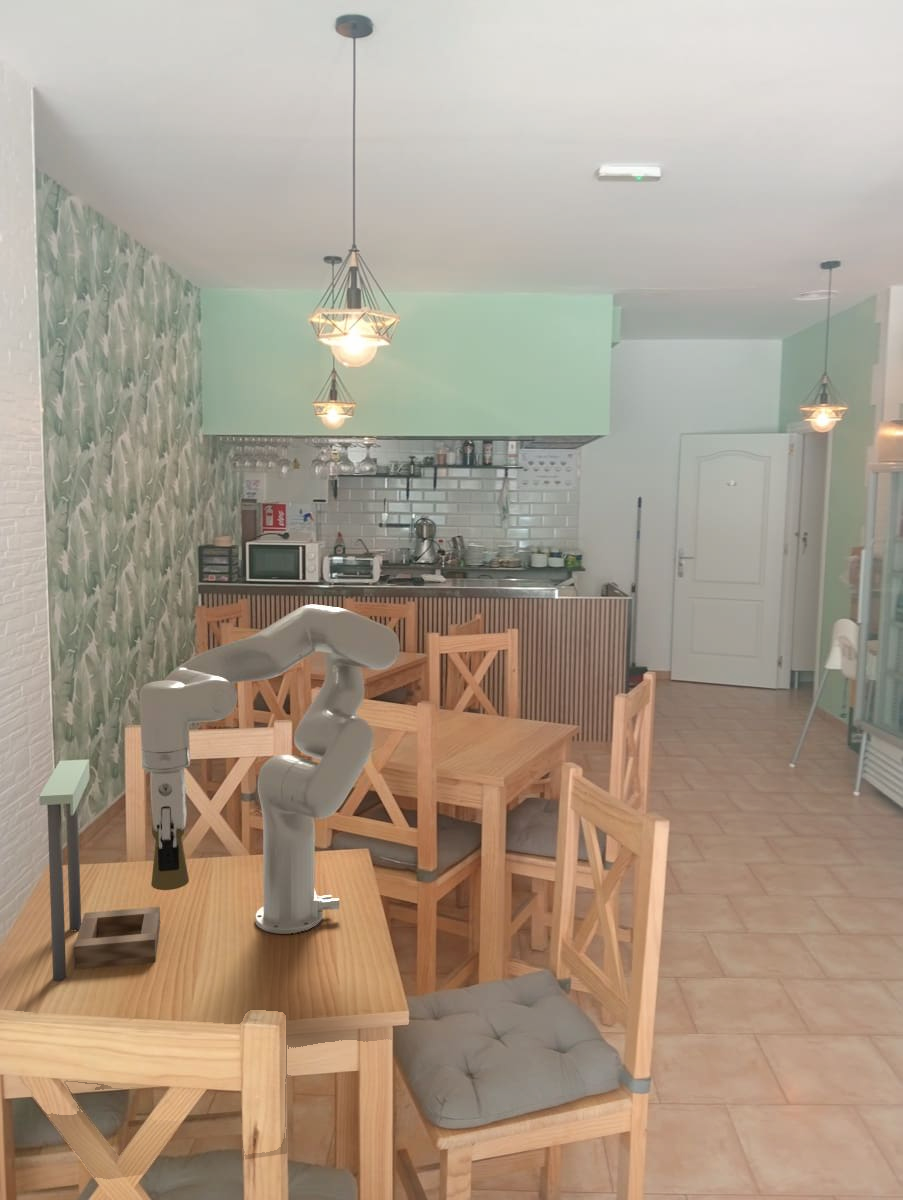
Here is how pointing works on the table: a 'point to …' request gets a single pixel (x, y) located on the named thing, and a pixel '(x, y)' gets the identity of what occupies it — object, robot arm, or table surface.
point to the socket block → (117, 938)
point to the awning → (61, 790)
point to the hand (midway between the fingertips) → (169, 862)
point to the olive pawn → (173, 877)
